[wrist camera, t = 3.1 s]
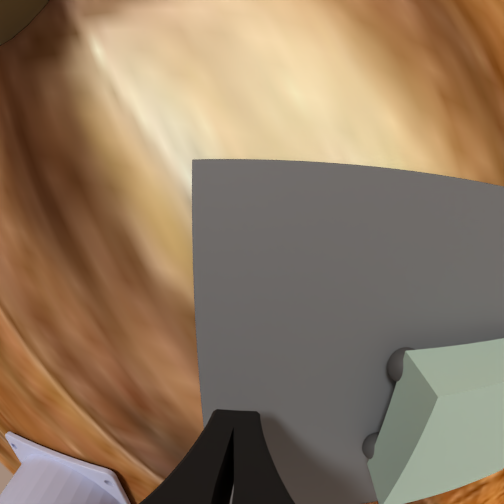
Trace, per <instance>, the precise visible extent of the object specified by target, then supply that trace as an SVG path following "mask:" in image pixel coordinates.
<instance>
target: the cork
mask: <svg viewBox="0 0 504 504" xmlns="http://www.w3.org/2000/svg"><path fill="white" fill-rule="evenodd" d="M48 1H49V0H0V45H2V44H3V43H5V42H7V41H8V40H10V39H12V38H13V37H14V36H15V35H16V34H18V33H19V32H20V31H21V30H22V29H23V28H25V27H26V26H27V25H28V24H29V23H30V22H31V21H32V20H33V18H34V17H35V16H36V15H37V14H38V13H39V12H40V11H41V10H42V9H43V8H44V6H45V5H46V4H47V2H48Z"/></svg>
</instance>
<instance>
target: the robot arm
mask: <svg viewBox="0 0 504 504" xmlns="http://www.w3.org/2000/svg"><path fill="white" fill-rule="evenodd" d="M6 439H7V440H8V442H9V444H10V445H11V447H12V449H13V450H14V452H15V454H16V455H17V457H18V458H19V460H20V462H21V463H22V465H21V466H20V467H19V469H18V470H17V472H16V473H15V475H14V476H13V477H12V479H11V480H10V482H9V483H8V485H7V486H6V487H5V489H4V490H3V492H2V493H1V495H0V504H131V503H130V501H129V499H128V498H127V496H126V494H125V492H124V490H123V488H122V486H121V484H120V482H119V480H118V477H117V476H116V474H115V473H114V472H113V471H111V470H109V469H107V468H104V467H100V466H97V465H93V464H90V463H87V462H84V461H81V460H78V459H75V458H72V457H69V456H67V455H64V454H61V453H58V452H56V451H53V450H51V449H48V448H46V447H43V446H41V445H38V444H36V443H34V442H31V441H29V440H27V439H25V438H22V437H20V436H18V435H16V434H14V433H12V432H7V434H6ZM233 485H234V490H233ZM232 490H233V498H232V504H295V503H294V501H293V500H292V498H291V496H290V495H289V493H288V491H287V489H286V487H285V485H284V483H283V482H282V480H281V478H280V476H279V474H278V471H277V469H276V467H275V465H274V462H273V460H272V457H271V455H270V452H269V450H268V447H267V444H266V441H265V437H264V434H263V430H262V425H261V419H260V414H259V413H258V412H257V411H239V410H223V409H216V410H215V411H213V413H212V415H211V417H210V419H209V421H208V423H207V425H206V426H205V428H204V430H203V431H202V433H201V434H200V436H199V437H198V439H197V441H196V442H195V443H194V445H193V446H192V447H191V449H190V450H189V452H188V453H187V454H186V456H185V457H184V458H183V460H182V461H181V462H180V463H179V464H178V465H177V467H176V468H175V469H174V470H173V471H172V472H171V474H170V475H169V476H168V477H167V478H166V479H165V480H164V481H163V482H162V483H161V484H160V485H159V486H158V487H157V488H156V489H155V490H154V491H153V492H152V493H151V494H150V495H149V496H148V497H146V498H145V499H144V500H143V501H142V502H140V503H139V504H230V499H231V495H232Z"/></svg>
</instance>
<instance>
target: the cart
mask: <svg viewBox="0 0 504 504" xmlns="http://www.w3.org/2000/svg"><path fill="white" fill-rule="evenodd" d="M387 370H388V373H389V375H390V377H391V378H392V379H393V380H394V381H396V382H397V383H396V386H395V389H394V392H393V395H392V399H391V402H390V405H389V408H388V411H387V413H386V416H385V419H384V422H383V425H382V427H381V430H380V432H376V433H373V434H371V435H369V436H368V437H367V438H366V439H365V440H364V442H363V445H362V451H363V454H364V455H365V456H366V457H367V458H368V459H369V460H368V463H367V465H368V469H369V472H370V475H371V479H372V482H373V485H374V489H375V492H376V496H377V499H378V503H379V504H405V503H409V502H413V501H417V500H420V499H424V498H427V497H431V496H434V495H437V494H441V493H444V492H447V491H450V490H453V489H456V488H458V487H461V486H464V485H467V484H469V483H472V482H474V481H477V480H479V479H482V478H484V477H487V476H489V475H491V474H494V473H496V472H498V471H500V470H502V469H503V468H504V338H502V339H496V340H490V341H484V342H477V343H470V344H463V345H455V346H447V347H439V348H429V349H419V350H415V349H413V348H410V347H403V348H399V349H397V350H396V351H394V352H393V353H392V355H391V356H390V358H389V360H388V364H387Z"/></svg>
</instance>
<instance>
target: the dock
mask: <svg viewBox="0 0 504 504" xmlns="http://www.w3.org/2000/svg"><path fill="white" fill-rule="evenodd" d="M192 236H193V275H194V300H195V321H196V338H197V353H198V367H199V380H200V392H201V403H202V414H203V424H204V428H205V426H206V425H207V423H208V421H209V419H210V417H211V415H212V413H213V411H215V410H216V409H223V410H239V411H257V412H258V413H259V414H260V419H261V425H262V430H263V434H264V437H265V441H266V444H267V447H268V450H269V452H270V455H271V457H272V460H273V462H274V465H275V467H276V469H277V471H278V474H279V476H280V478H281V480H282V482H283V483H284V485H285V487H286V489H287V491H288V493H289V495H290V496H291V498H292V500H293V501H294V503H295V504H363V503H369V502H375V501H378V499H377V496H376V492H375V489H374V485H373V482H372V479H371V475H370V472H369V469H368V465H367V463H368V460H369V459H368V458H367V457H366V456H365V455H364V454H363V451H362V445H363V442H364V440H365V439H366V438H367V437H368V436H369V435H371V434H373V433H376V432H380V430H381V427H382V425H383V422H384V419H385V416H386V413H387V411H388V408H389V405H390V402H391V399H392V395H393V392H394V389H395V386H396V383H397V382H396V381H394V380H393V379H392V378H391V377H390V375H389V373H388V370H387V364H388V360H389V358H390V356H391V355H392V353H393V352H394V351H396V350H397V349H399V348H403V347H410V348H413V349H415V350H419V349H429V348H439V347H447V346H455V345H463V344H470V343H477V342H484V341H490V340H496V339H502V338H504V187H503V186H498V185H493V184H488V183H483V182H478V181H472V180H467V179H461V178H455V177H449V176H443V175H436V174H429V173H422V172H415V171H407V170H399V169H391V168H381V167H372V166H361V165H350V164H338V163H324V162H307V161H286V160H250V159H202V160H192ZM233 490H234V485H233ZM233 490H232V495H231V499H230V504H232V498H233Z"/></svg>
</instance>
